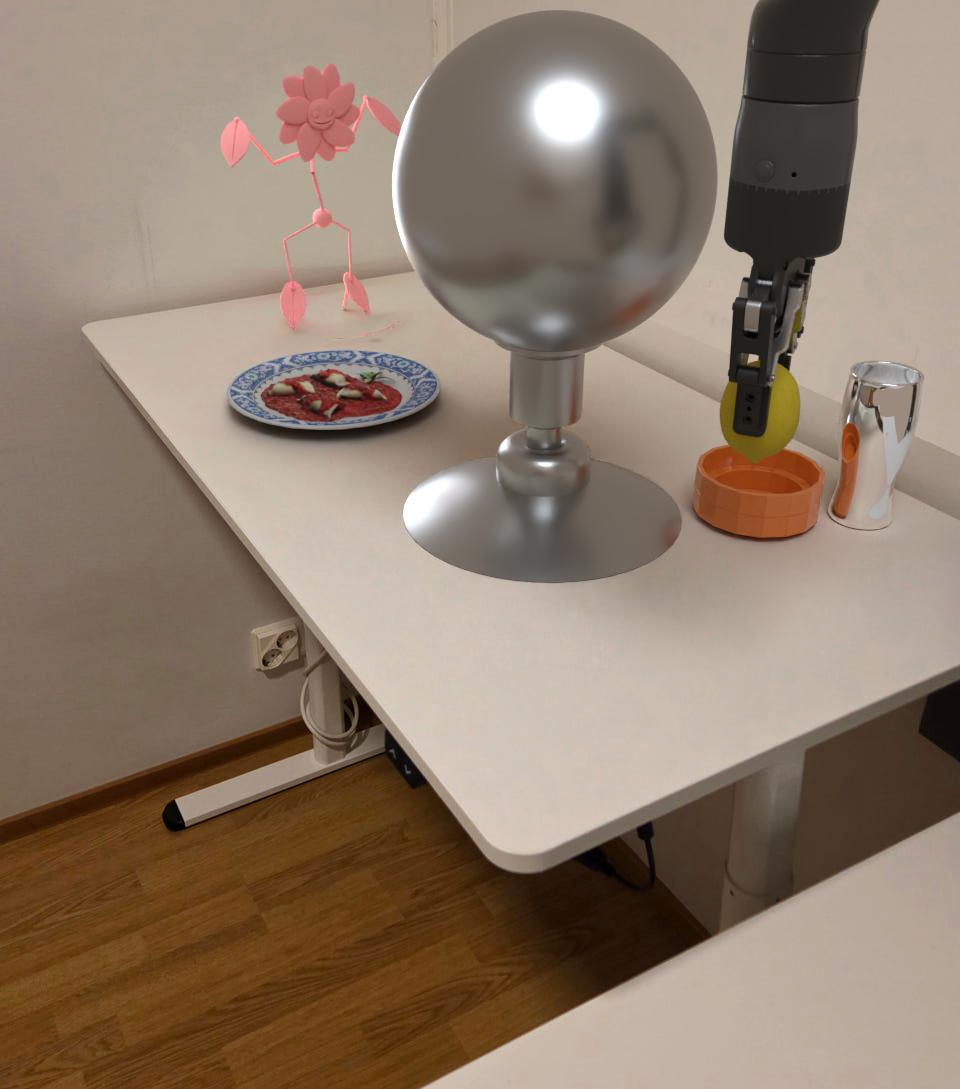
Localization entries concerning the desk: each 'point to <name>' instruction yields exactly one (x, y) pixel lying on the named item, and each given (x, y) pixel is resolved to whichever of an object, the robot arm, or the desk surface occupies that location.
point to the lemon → (779, 419)
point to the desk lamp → (551, 271)
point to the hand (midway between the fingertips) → (759, 417)
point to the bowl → (758, 492)
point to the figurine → (313, 154)
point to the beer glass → (874, 440)
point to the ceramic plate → (333, 389)
